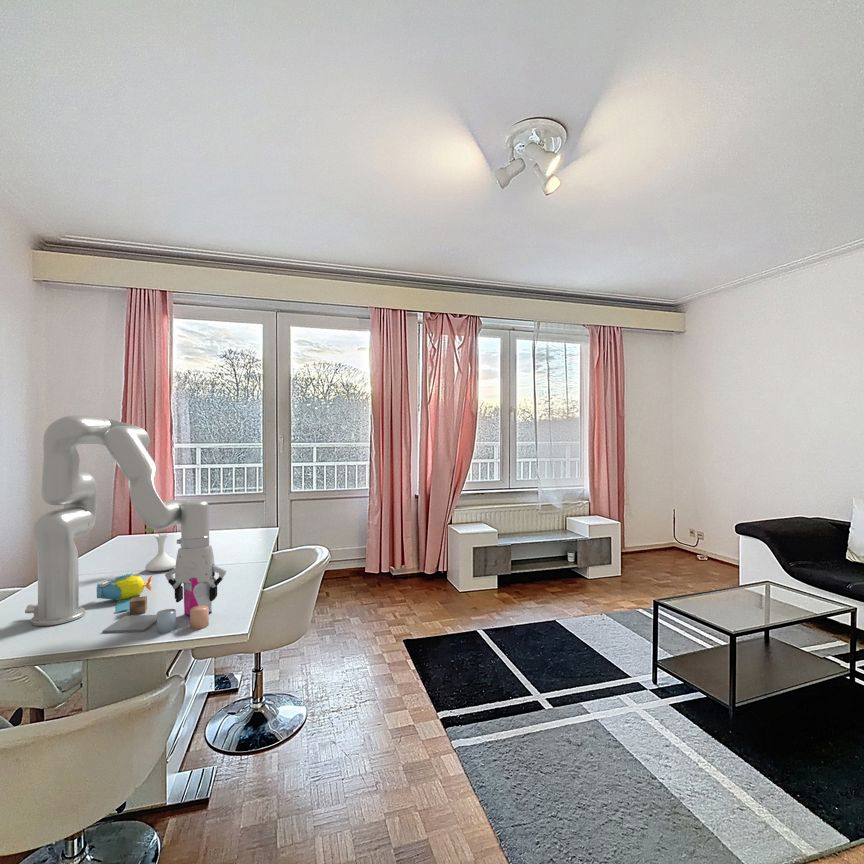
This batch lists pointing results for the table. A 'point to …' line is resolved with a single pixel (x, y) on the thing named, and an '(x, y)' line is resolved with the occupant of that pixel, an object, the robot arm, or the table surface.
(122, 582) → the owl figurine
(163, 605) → the table surface
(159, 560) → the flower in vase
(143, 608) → the walnut block
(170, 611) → the pale blue dome knob
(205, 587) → the supplement box
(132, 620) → the coaster
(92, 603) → the table surface
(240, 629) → the table surface
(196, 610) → the peach dome cap
